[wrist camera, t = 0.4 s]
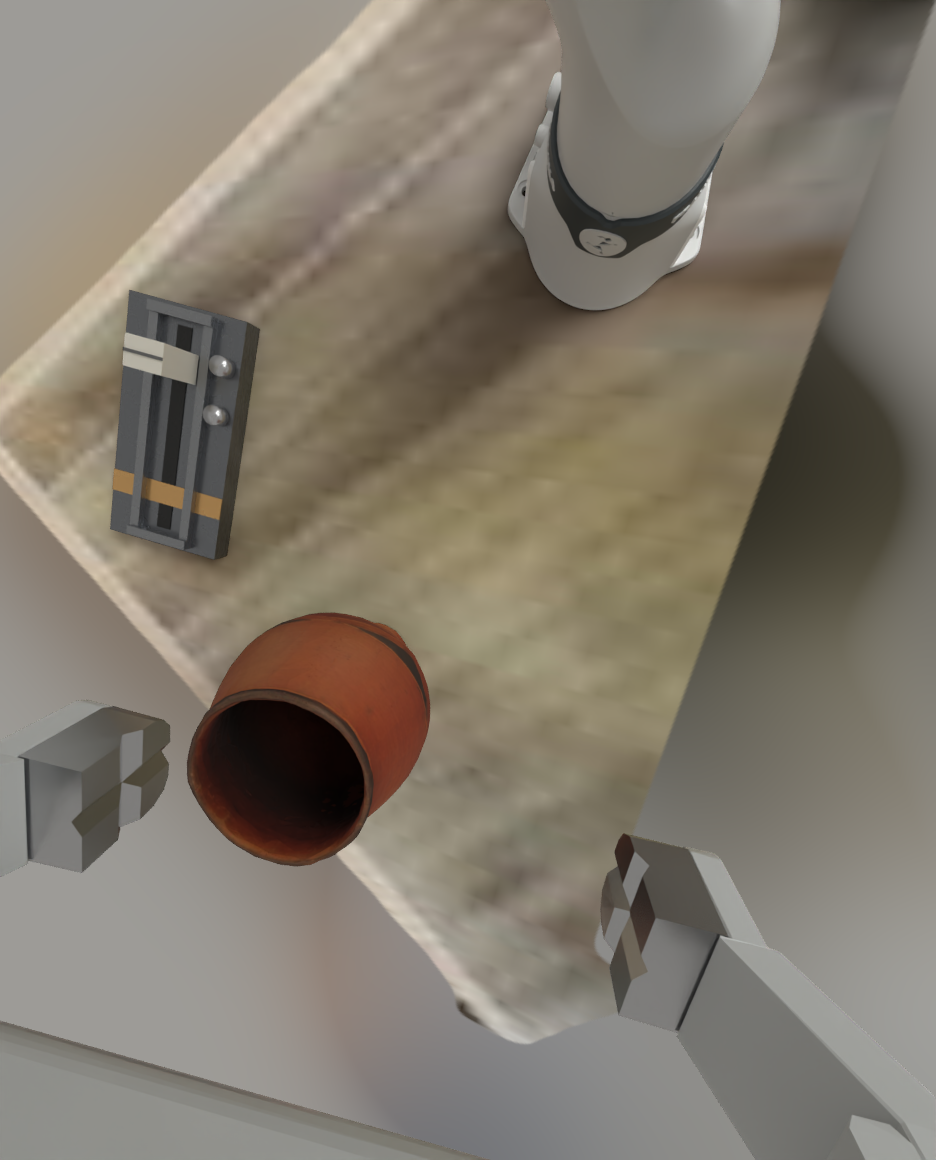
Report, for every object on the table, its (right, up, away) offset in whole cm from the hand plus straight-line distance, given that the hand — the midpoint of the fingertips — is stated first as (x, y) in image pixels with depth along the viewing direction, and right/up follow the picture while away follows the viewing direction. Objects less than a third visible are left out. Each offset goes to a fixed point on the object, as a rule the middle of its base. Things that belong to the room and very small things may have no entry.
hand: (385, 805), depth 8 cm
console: (-31, +21, +46) cm, 59 cm away
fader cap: (-29, +27, +42) cm, 58 cm away
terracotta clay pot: (-10, -5, +50) cm, 51 cm away
